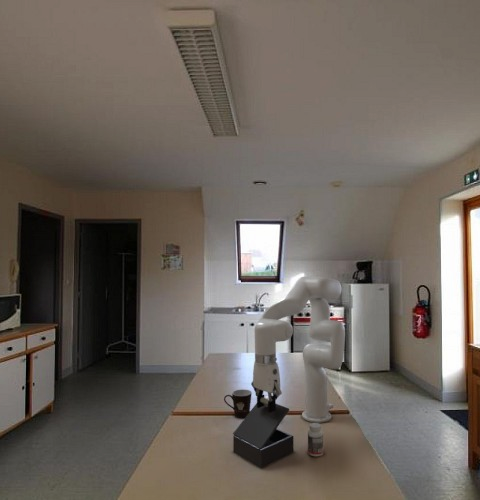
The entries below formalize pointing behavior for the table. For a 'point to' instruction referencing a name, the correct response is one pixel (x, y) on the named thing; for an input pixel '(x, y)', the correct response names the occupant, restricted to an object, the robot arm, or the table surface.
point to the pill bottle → (315, 440)
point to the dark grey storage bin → (265, 449)
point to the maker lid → (260, 424)
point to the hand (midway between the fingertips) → (266, 408)
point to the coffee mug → (240, 402)
